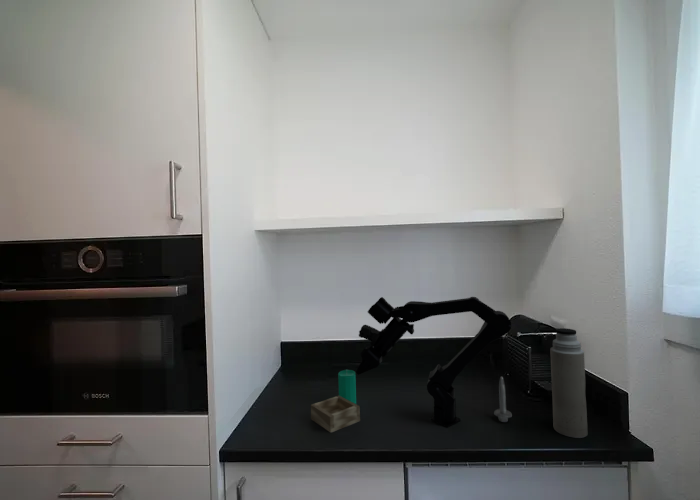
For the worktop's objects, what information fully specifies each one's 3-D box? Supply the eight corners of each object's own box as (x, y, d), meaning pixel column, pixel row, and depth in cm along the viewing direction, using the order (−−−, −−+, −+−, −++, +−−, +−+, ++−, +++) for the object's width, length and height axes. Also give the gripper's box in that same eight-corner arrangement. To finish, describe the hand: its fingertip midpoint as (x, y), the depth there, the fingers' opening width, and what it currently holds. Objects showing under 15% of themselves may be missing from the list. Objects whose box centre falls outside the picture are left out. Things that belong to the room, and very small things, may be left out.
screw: (504, 425, 100) (490, 418, 105) (515, 421, 102) (502, 415, 107) (502, 380, 100) (489, 375, 105) (514, 377, 102) (501, 372, 107)
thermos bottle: (579, 424, 100) (574, 326, 100) (593, 438, 92) (588, 332, 92) (549, 422, 101) (545, 326, 101) (560, 437, 93) (556, 332, 94)
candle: (346, 398, 122) (345, 364, 123) (360, 402, 119) (358, 367, 119) (335, 404, 118) (334, 369, 118) (348, 409, 114) (347, 372, 114)
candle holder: (339, 409, 114) (339, 395, 114) (360, 420, 106) (359, 406, 106) (311, 419, 108) (310, 404, 108) (330, 432, 99) (330, 416, 99)
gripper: (379, 311, 120) (351, 344, 123) (364, 322, 103) (333, 359, 106) (403, 334, 118) (375, 366, 121) (393, 348, 100) (360, 386, 103)
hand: (361, 368), depth 113 cm, fingers open, 9 cm apart
